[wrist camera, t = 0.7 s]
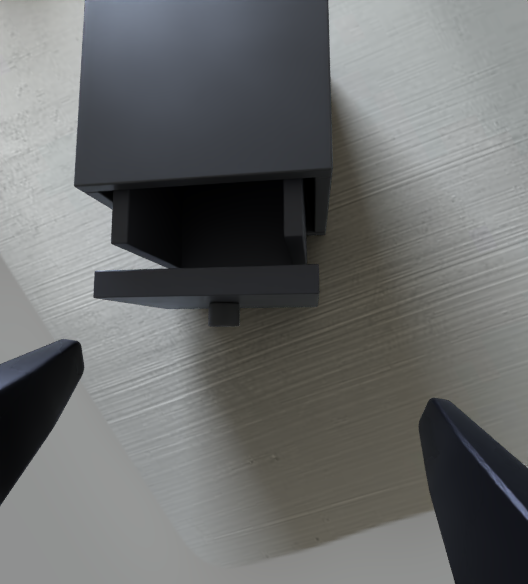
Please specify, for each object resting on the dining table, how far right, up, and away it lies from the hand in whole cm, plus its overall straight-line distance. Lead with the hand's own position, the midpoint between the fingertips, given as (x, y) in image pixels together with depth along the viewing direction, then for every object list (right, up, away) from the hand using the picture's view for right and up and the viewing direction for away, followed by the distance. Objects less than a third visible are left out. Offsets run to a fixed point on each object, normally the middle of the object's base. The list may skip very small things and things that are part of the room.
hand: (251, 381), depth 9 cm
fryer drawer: (-1, +6, +14) cm, 15 cm away
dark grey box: (-1, +12, +15) cm, 19 cm away
